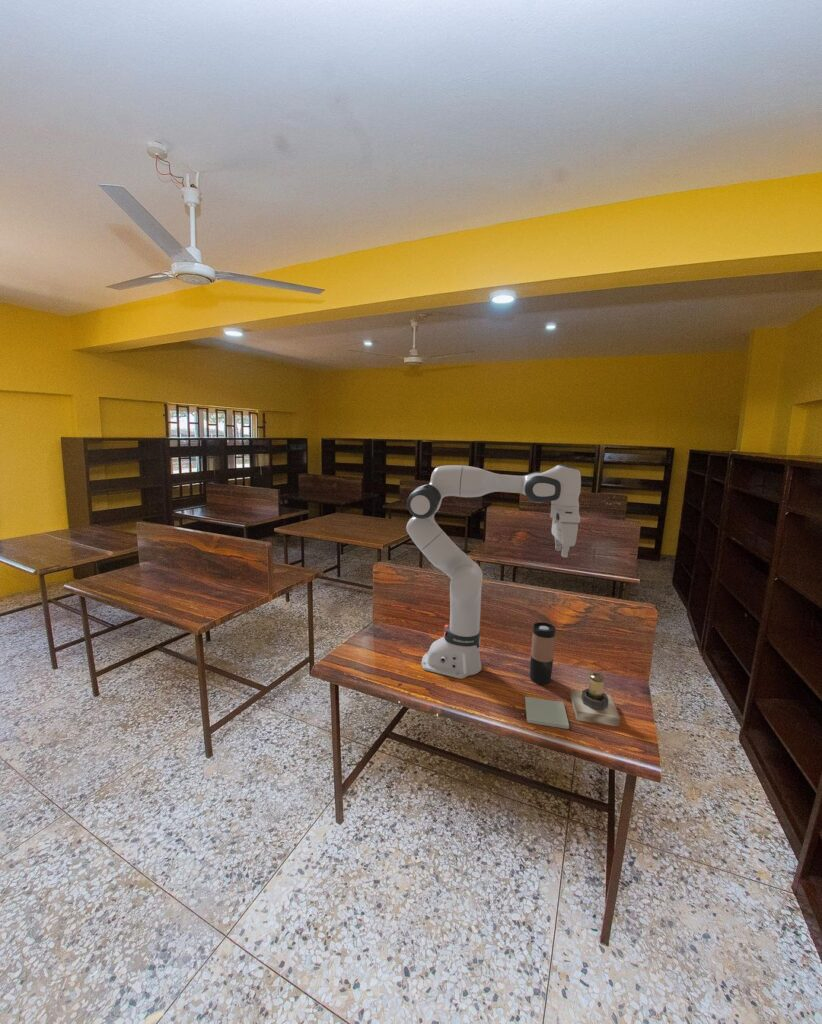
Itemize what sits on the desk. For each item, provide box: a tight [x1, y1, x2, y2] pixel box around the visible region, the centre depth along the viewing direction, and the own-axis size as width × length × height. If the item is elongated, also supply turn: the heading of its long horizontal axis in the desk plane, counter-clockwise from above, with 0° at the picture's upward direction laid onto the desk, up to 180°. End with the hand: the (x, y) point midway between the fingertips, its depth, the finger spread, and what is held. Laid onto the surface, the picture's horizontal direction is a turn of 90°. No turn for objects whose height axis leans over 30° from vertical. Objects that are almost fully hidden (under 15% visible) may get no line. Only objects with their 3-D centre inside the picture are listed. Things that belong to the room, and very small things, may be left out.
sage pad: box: [524, 696, 570, 730], centre depth 130 cm, size 12×12×1 cm
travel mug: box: [529, 621, 556, 686], centre depth 148 cm, size 8×8×20 cm
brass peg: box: [588, 672, 605, 701], centre depth 131 cm, size 4×4×9 cm
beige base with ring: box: [570, 687, 621, 727], centre depth 132 cm, size 12×12×6 cm
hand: (561, 553), depth 142 cm, fingers open, 8 cm apart
